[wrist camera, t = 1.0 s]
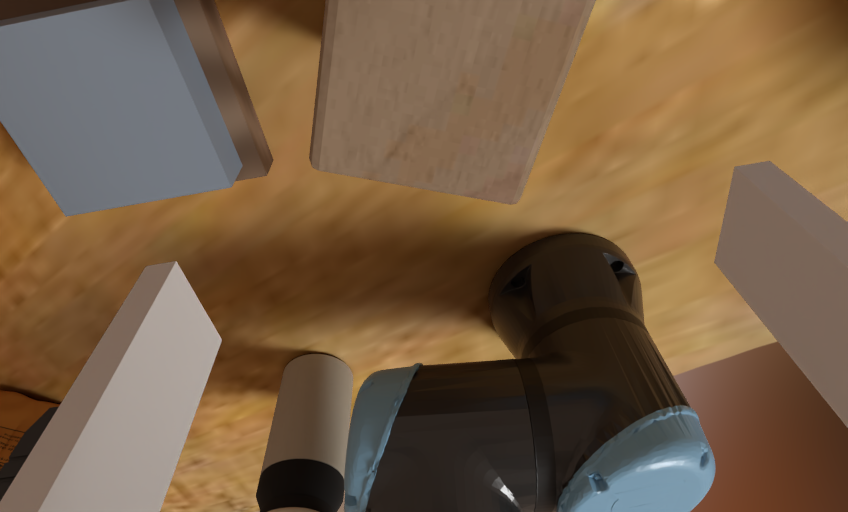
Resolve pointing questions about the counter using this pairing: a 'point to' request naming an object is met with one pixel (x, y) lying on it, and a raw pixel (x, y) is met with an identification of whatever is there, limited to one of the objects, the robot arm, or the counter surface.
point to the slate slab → (112, 105)
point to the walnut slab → (216, 65)
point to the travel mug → (308, 438)
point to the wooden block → (442, 90)
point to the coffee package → (17, 419)
